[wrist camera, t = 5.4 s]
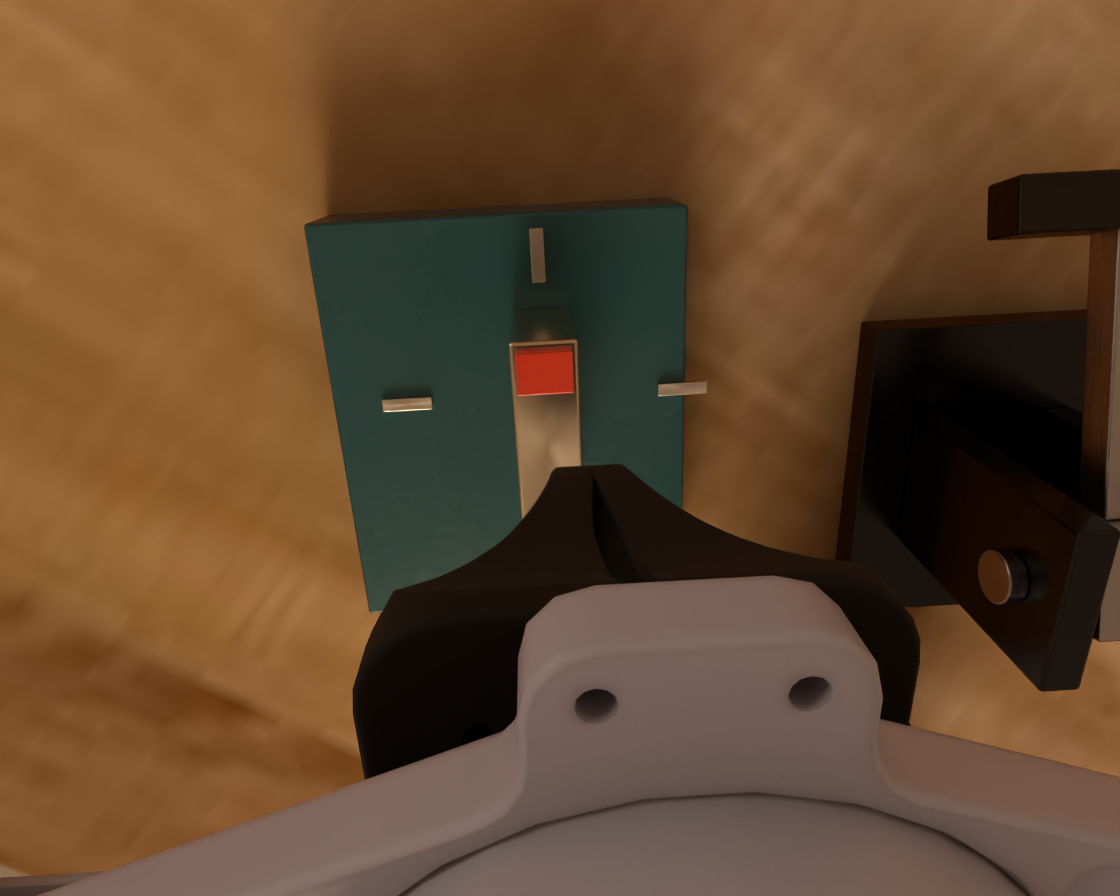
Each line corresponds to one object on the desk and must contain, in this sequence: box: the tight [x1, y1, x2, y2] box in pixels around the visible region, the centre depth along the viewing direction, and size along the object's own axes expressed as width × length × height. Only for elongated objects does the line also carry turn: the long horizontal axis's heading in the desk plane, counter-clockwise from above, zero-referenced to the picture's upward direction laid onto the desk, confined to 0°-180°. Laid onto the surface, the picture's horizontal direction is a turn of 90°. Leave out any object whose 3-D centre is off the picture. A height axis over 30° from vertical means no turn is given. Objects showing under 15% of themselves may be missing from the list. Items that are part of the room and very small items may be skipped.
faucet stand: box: [836, 309, 1120, 692], centre depth 21 cm, size 10×8×9 cm
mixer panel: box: [304, 197, 707, 613], centre depth 23 cm, size 12×11×3 cm
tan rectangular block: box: [508, 307, 583, 520], centre depth 20 cm, size 5×2×4 cm, turn 3°
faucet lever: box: [987, 169, 1120, 642], centre depth 19 cm, size 11×6×2 cm, turn 2°
